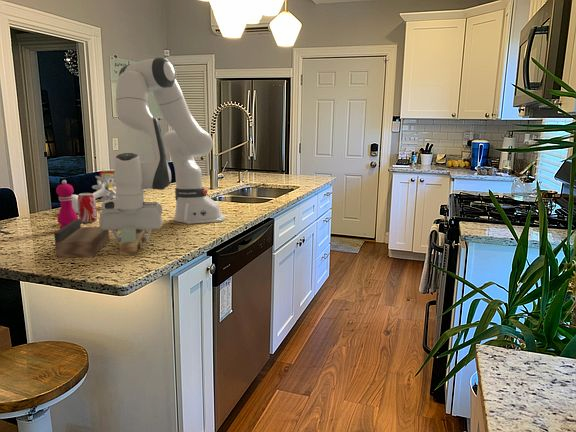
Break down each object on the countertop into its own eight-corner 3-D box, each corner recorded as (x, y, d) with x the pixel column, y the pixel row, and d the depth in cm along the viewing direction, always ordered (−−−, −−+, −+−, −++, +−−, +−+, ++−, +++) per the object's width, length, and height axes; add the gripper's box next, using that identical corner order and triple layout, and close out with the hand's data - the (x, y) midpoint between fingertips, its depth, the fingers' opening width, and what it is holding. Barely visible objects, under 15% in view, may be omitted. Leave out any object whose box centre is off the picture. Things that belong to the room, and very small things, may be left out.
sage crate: (136, 238, 146) (135, 227, 145) (134, 242, 142) (133, 230, 141) (123, 239, 145) (123, 227, 145) (121, 242, 142) (120, 230, 141)
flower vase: (81, 229, 202) (126, 207, 220) (72, 194, 192) (119, 174, 210) (65, 221, 208) (109, 200, 226) (55, 186, 199) (102, 167, 217)
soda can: (90, 223, 184) (88, 195, 181) (75, 222, 185) (73, 194, 183) (100, 220, 191) (98, 193, 188) (86, 219, 192) (83, 192, 189)
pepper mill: (58, 233, 168) (53, 181, 164) (58, 229, 174) (53, 179, 170) (79, 231, 171) (74, 180, 167) (78, 227, 178) (73, 178, 173)
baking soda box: (101, 199, 240) (99, 170, 236) (105, 197, 246) (103, 169, 243) (119, 199, 241) (117, 170, 237) (122, 197, 247) (120, 169, 244)
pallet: (145, 239, 160) (145, 229, 159) (136, 254, 142) (135, 242, 142) (131, 240, 159) (130, 229, 158) (120, 254, 142) (119, 242, 141)
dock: (109, 239, 159) (107, 218, 157) (93, 256, 140) (91, 232, 138) (77, 240, 158) (75, 219, 156) (56, 257, 138) (54, 233, 137)
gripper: (163, 200, 152) (165, 238, 155) (101, 200, 149) (104, 239, 152) (160, 203, 146) (162, 243, 149) (96, 204, 143) (99, 244, 146)
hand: (132, 241), depth 150 cm, fingers open, 8 cm apart
